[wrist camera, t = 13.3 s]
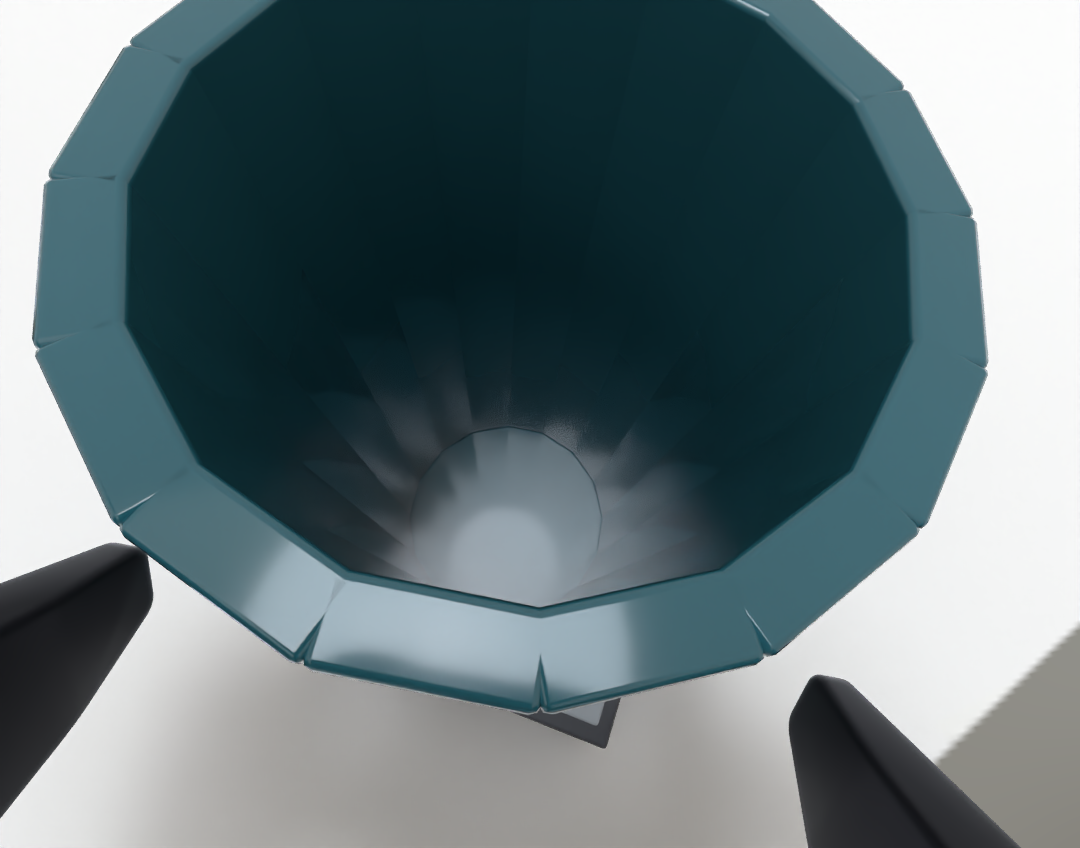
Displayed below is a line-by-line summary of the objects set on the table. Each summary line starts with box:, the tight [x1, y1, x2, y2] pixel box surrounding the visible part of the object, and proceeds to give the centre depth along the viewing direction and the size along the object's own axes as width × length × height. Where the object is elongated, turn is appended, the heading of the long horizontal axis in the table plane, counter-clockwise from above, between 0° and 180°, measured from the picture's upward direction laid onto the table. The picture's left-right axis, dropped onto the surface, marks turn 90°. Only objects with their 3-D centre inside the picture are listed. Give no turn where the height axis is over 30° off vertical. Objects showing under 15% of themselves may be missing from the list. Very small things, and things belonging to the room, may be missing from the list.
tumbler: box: [32, 0, 988, 715], centre depth 10 cm, size 6×6×13 cm
